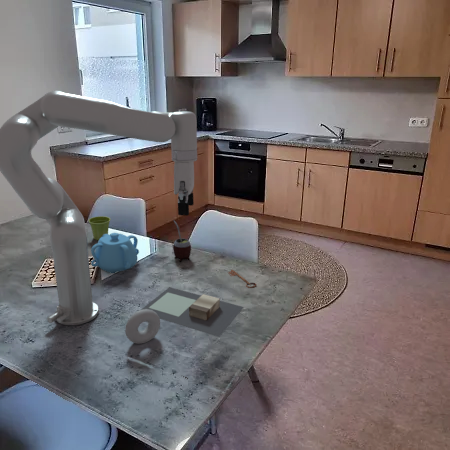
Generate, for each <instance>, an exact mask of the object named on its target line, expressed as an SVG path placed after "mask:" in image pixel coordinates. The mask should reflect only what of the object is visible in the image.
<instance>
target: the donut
mask: <svg viewBox="0 0 450 450" xmlns="http://www.w3.org/2000/svg"><path fill="white" fill-rule="evenodd" d="M142 309H143V308H142ZM145 322H146V323H147V326H146V328H144V329H143V330H139V327H140V326H141V324H143V323H145ZM160 328H161V319H160V318H159V316H158V315H157V313H156V312H154V311H153V310H149V309H143V310H141V309H140V310H138V311H137V310H136V312H134V313H133V314H131V315H130V317H129V318H128V319H127V322H126V324H125V330H124V332H125V336H126V338H127V339H128V340H129V342H131V343H133V344H137V345H138V344H139V345H141V344H146V343H148V342H150V341H152V340H153V339H154V338H155V337H156V336H157V334H158V333H159V330H160Z"/></svg>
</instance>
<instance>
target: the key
mask: <svg viewBox="0 0 450 450" xmlns="http://www.w3.org/2000/svg"><path fill="white" fill-rule="evenodd" d="M227 273H228V275H229V276H230V277H235V276H237V277H238V278H239V279H241V280H242V281H243V282H244V283H245V287H246V288H248V289H253V288H255V287H256V286H257V283H256V282H249V281H248V280H247V279H245V278H244V277H243V276H242V275H240V274H239V273H238V272H236V271H235V270H234V269H231V270H230V271H228V272H227ZM248 285H249V286H248ZM251 285H252V286H251Z"/></svg>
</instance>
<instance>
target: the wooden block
mask: <svg viewBox="0 0 450 450" xmlns="http://www.w3.org/2000/svg"><path fill="white" fill-rule="evenodd" d="M220 301H221V300H220V298H219V297H216V296H211V295H208V294H204V293H203V294H202V295H201V297H199V298H198V299H197V300H196V301H195V302H194V303H193V304H192V305H191V306H190V307H189V316H192V317H195V318H199V319H202V320H205V321H207V320H208V319H209V318H210V316H211V315H212V314H213V313H214V312H215V311H216V310H217V309H218V308H219V307H220Z"/></svg>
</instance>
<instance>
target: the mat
mask: <svg viewBox="0 0 450 450" xmlns="http://www.w3.org/2000/svg"><path fill="white" fill-rule="evenodd" d="M201 296H202V295H200V294H196V293H192V292H189V291H185V290H181V289H178V288H174V287H172V286H171V287H170V286H169V287H168V288H166V289H165V290H164V291H162V292H161V293H160V294H159V295H157V296H156V297H155V298H154V299H152V300H151V301H150V302H149V303H148V304H146V305H145V306H144V307H142V309H140V310H143V309H149V310H153V311H154V312H156V313H157V315H158V316H159V318H160V320H163V321H167V322H169V323H173V324H175V325H178V326H183V327H184V328H189V329H192V330H195V331H199V332H202V333H204V334H209V335H212V336H215V337H217V338H220V337H221V335H223V333H224V332H225V331H226V330H227V329H228V328H229V326H230V325H232V323H233V321H234V320H235V319H236V318H237V317H238V316H239V314H240V312H241V311H242V310H243V309H244V308H245V307H244V306H241V305H237V304H234V303H230V302H227V301H222V300H220V307H219V308H218V309H217V310H216V311H215V312H214V313H213V314H212V315H211V316H210V318H209V319H208V320H207V321H205V320H202V319H199V318H195V317H192V316H189V307H190V306H191V305H192V304H193V303H194V302H195V301H196V300H197V299H198V298H199V297H201Z"/></svg>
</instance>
